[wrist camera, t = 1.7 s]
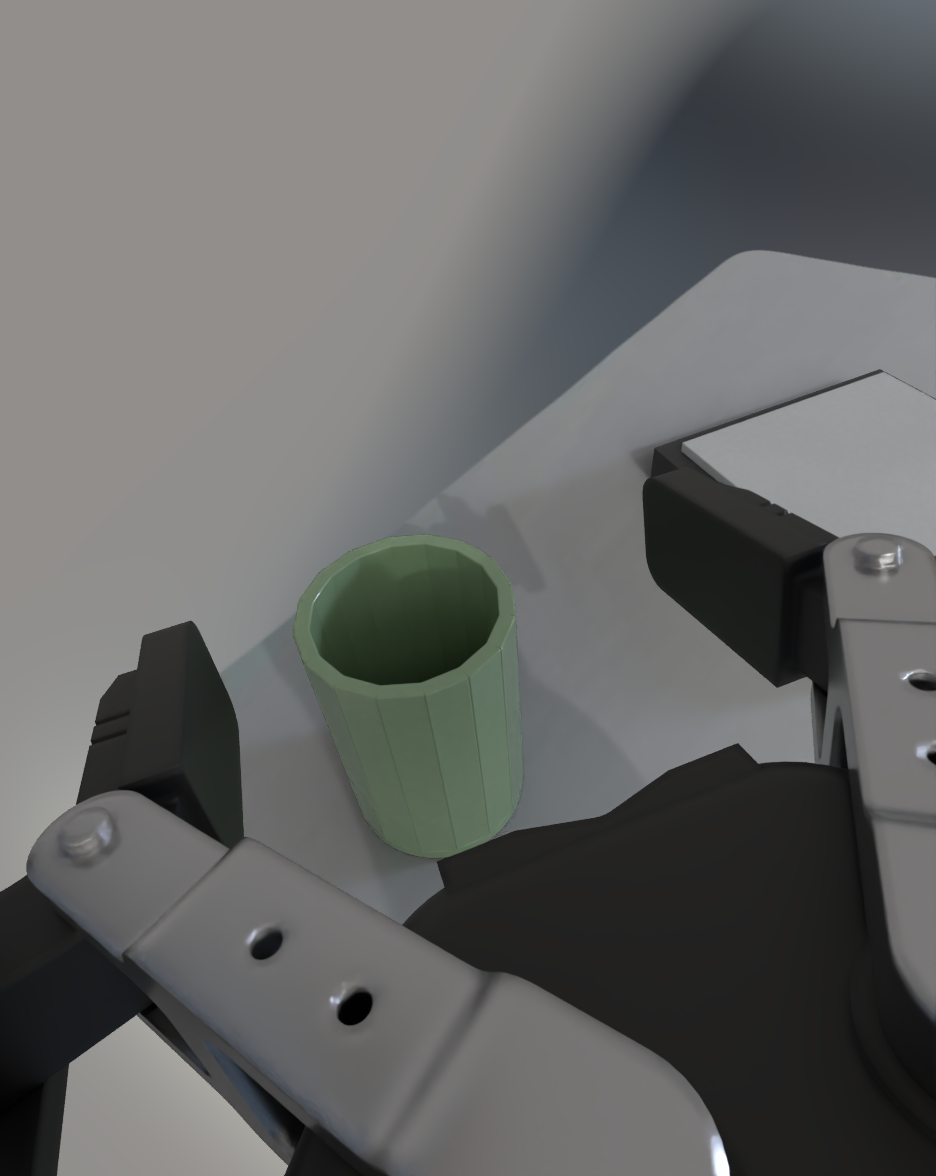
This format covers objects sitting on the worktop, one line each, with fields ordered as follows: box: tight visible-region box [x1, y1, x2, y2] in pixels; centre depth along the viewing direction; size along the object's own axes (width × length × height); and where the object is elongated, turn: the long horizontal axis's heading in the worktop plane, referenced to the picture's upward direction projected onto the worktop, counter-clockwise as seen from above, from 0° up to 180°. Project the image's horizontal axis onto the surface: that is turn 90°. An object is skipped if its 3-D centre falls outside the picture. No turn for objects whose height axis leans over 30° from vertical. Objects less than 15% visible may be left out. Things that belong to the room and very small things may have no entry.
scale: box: [651, 369, 936, 556], centre depth 36 cm, size 16×16×3 cm
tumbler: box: [293, 534, 524, 858], centre depth 25 cm, size 7×7×10 cm
